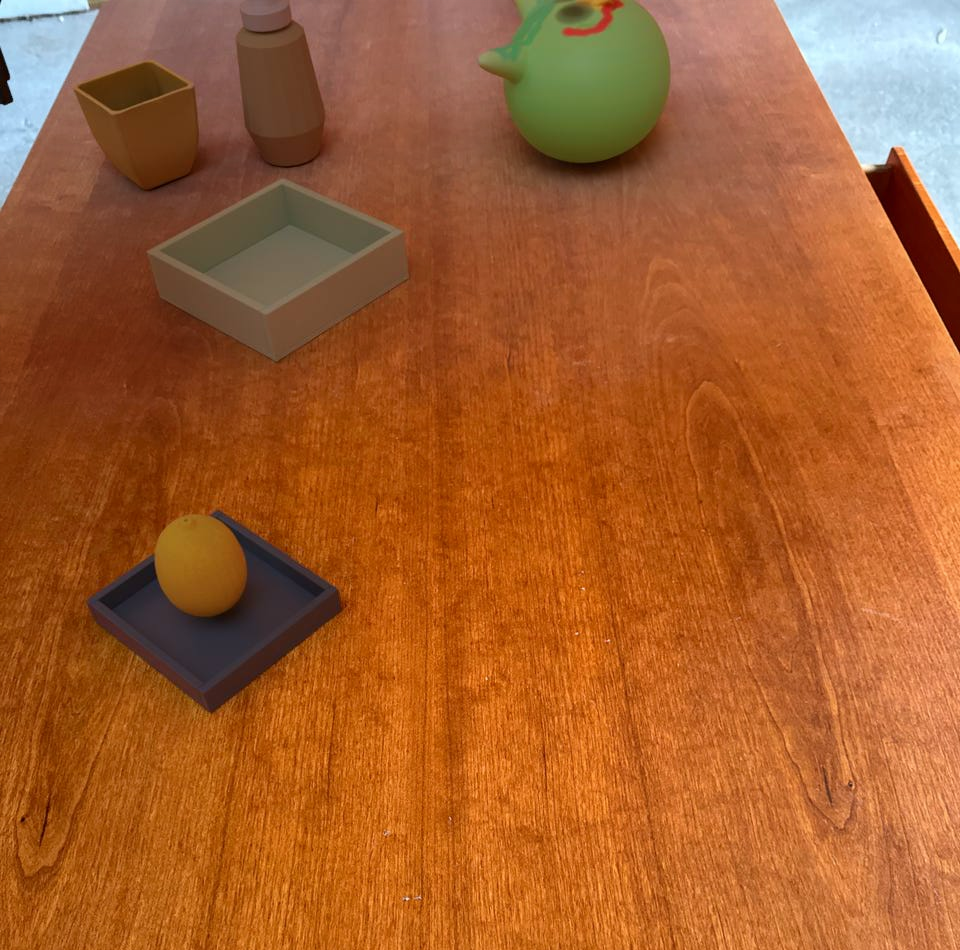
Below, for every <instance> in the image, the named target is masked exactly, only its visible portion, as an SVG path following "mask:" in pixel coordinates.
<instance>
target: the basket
mask: <svg viewBox="0 0 960 950" xmlns="http://www.w3.org/2000/svg"><path fill="white" fill-rule="evenodd" d="M405 238H406V236H405V230H402V229H401V228H398V227H396V226H394V225H392V224H389V223H387V222H384V221H383V220H380V219H378V218H375V217H374V216H371V215H368V214H367V213H364V212H362V211H359V210H357V209H356V208H353V207H350V206H348V205H346V204H343V203H341V202H339V201H337V200H334V199H332V198H329V197H327V196H325V195H323V194H321V193H318V192H316V191H314V190H312V189H310V188H307V187H305V186H303V185H299V183H296V182H293V181H291V180H288V179H286V178H284V177H282V178H280V179H278V180H276V181H274V182H273V183H271V184H269V185H267V186H265V187H263V188H262V189H259V190H258V191H256V192H254V193H252V194H250V195H248V196H246V197H244V198H243V199H241V200H239V201H237V202H235V203H234V204H232V205H230V206H228V207H226V208H224V209H223V210H220V211H219V212H216V213H215V214H213V215H211V216H209V217H207V218H206V219H204V220H202V221H200V222H198V223H196V224H195V225H192V226H190V227H189V228H187V229H185V230H183V231H181V232H180V233H178V234H176V235H174V236H172V237H169V238H168V239H167V240H164V241H163V242H161V243H159V244H157V245H155V246H154V247H152V248H150V249H148V250H146V257H147V259H148V262H149V266H150V269H151V272H152V277H153V280H154V283H155V285H156V286H155V287H156V290H157V293H158V297H159V299H161V300H163V301H165V302H166V303H168V304H170V305H172V306H174V307H176V308H177V309H179V310H181V311H183V312H185V313H187V314H188V315H190V316H192V317H194V318H196V319H198V320H199V321H201V322H203V323H205V324H206V325H209V326H210V327H212V328H214V329H216V330H217V331H220V332H221V333H223V334H225V335H227V336H229V337H231V338H232V339H234V340H236V341H238V342H240V343H241V344H243V345H245V346H247V347H249V348H250V349H252V350H253V351H256V352H257V353H259V354H261V355H263V356H264V357H266V358H268V359H270V360H272V361H274V362H275V363H277V362H279V361H280V360H282V359H284V358H285V357H287V356H288V355H290V354H292V353H293V352H295V351H297V350H298V349H299V348H301V347H303V346H304V345H306V344H308V343H309V342H311V341H312V340H314V339H315V338H317V337H318V336H320V335H322V334H323V333H325V332H326V331H328V330H330V329H331V328H333V327H335V326H336V325H338V324H339V323H340V322H342V321H344V320H345V319H347V318H348V317H350V316H352V315H354V313H357V312H358V311H360V310H361V309H363V308H364V307H366V306H368V305H369V304H370V303H372V302H374V301H375V300H376V299H378V298H380V297H382V296H383V295H385V294H387V293H388V292H389V291H391V290H393V289H394V288H396V287H398V286H399V285H400V284H402V283H403V282H405V281H407V280H408V279H410V273H409V265H408V263H409V262H408V255H407V254H408V253H407V247H406V239H405Z"/></svg>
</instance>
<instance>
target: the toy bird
mask: <svg viewBox="0 0 960 950" xmlns="http://www.w3.org/2000/svg"><path fill="white" fill-rule="evenodd" d="M513 2H514V5H515V7H516V9H517V12H518V14H519V17H520V20H521V23H520V25H519V26H518V27H517V29H516V31H515V32H514V34H513V36H512V38H511V40H510V43H509V44H506V45H501V46H498V47H494V48H492V49H489V50H487V51H485V52H483V53H481V54H480V55H479V56H478V58H477V65H478V66H479V68H481V69H482V70H483V71H485V72H487V73H490V74H492V75H494V76H497V77H500V78H502V79H503V80H502V81H503V92H504V93H503V94H504V99H505V104H506V107H507V111H508V113H509V115H510V118H511V121H512V123H513V124H514V126H515V127H516V129H517V131H518V133H520V135H521V136H522V138H523V139H524V140H525V141H526V142H527V143H528V144H529V145H530V146H532V147H533V148H534V149H535V150H537V151H538V152H540V153H542V154H543V155H546V157H549V158H552V159H556V160H558V161H563V162H568V163H575V164H587V163H588V164H589V163H597V162H602V161H605V160H609V159H613V158H614V157H615V158H616V157H618V156H619V155H621V154H623V153H626V152H627V151H629V150H631V149H632V148H633V147H635V146H637V145H638V144H639V143H641V142H642V141H643V140H644V139H645V138H646V137H647V136H648V135H649V134H650V132H651V131H652V130H653V129H654V127H655V126H656V124H657V123H658V122H659V120H660V118H661V116H662V113H663V111H664V109H665V106H666V104H667V101H668V96H669V93H670V86H671V59H670V53H669V49H668V44H667V41H666V38H665V36H664V34H663V32H662V30H661V27H660V26H659V23H658V22H657V21H656V19H655V18H654V16H653V15H652V14H651V13H650V12H649V11H648V9H646V8H645V7H644V6H643V5H642V4H641V3H639V2H638V1H637V0H513Z"/></svg>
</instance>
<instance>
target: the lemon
mask: <svg viewBox="0 0 960 950" xmlns="http://www.w3.org/2000/svg"><path fill="white" fill-rule="evenodd" d="M154 549H155V550H154V553H155V569H156V573H157V577H158V581H159V584H160V586H161V588H162V590H163V592H164V593H165V594H166V596H167V597H168V599H169V600H170V601H171V602H172V604H174V605H175V606H176V607H177V608H179V609H180V610H182V611H183V612H185V613H188V614H191V615H194V616H199V617H210V616H215V615H219V614H221V613H223V612H225V611H227V610H228V609H230V608H231V607H233V606H234V604H235V603H236V602H237V601H238V600H239V599H240V597H241V595H242V593H243V591H244V588H245V584H246V580H247V567H246V560H245V556H244V553H243V550H242V548H241V546H240V544H239V542H238V541H237V539H236V537H235V536H234V534H233V533H232V531H231V530H230V529H229V528H228V527H227V526H226V525H224V524H223V523H222V522H221V521H219V520H218V519H216V518H213V517H211V516H209V515H207V514H203V513H190V514H185V515H183V516H179V517H177V518H176V519H173V520H172V521H171V522H170V523H169V524H167V525H166V526H165V527H164V529H163V530H162V531H161V533H160V535H159V536H158V539H157V540H156V543H155V548H154Z"/></svg>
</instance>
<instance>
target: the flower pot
mask: <svg viewBox="0 0 960 950" xmlns="http://www.w3.org/2000/svg"><path fill="white" fill-rule="evenodd" d="M195 86H196V85H195V84H194V82H192V81H190V80H188V79H187V78H185V77H183V76H181V75H180V74H178V73H177V72H175V71H173V70H171V69H169V68H168V67H167V66H165V65H163V64H161V63H160V62H158V61H156V60H155V59H152V58H149V59H145V60H141V61H139V62H135V63H131V64H129V65H127V66H123V67H120V68H117V69H115V70H112V71H109V72H106V73H103V74H101V75H98V76H95V77H93V78H89V79H85V80H84V81H80V82H79V83H76V84H73V85H71V87H72V90H73V93H74V94H75V97H76V99H77V102H78V105H79V107H80V109H81V111H82V113H83V116H84V118H85V121H86V123H87V125H88V128H89V130H90V132H91V134H92V136H93V138H94V140H95V142H96V144H97V146H99V148H100V150H101V151H102V153H103V154H104V155H105V156H106V158H107V159H108V160H109V161H110V162H111V164H112V165H113V166H114V167H115V168H116V169H117V170H118V171H119V172H120V173H121V174H122V176H124V177H126V178H127V179H129V180H131V181H132V182H133V183H134V184H136V185H137V186H138V187H140V188H141V189H142V190H147V191H148V190H151V189H155V188H156V187H159V186H162V185H164V184H166V183H168V182H171V181H174V180H177V179H180V178H182V177H184V176H187V175H189V173H190V172H191V170H192V168H193V166H194V163H195V160H196V157H197V154H198V149H199V148H198V147H199V140H200V129H199V117H198V108H197V107H198V106H197V97H196V89H195V88H196V87H195Z"/></svg>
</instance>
